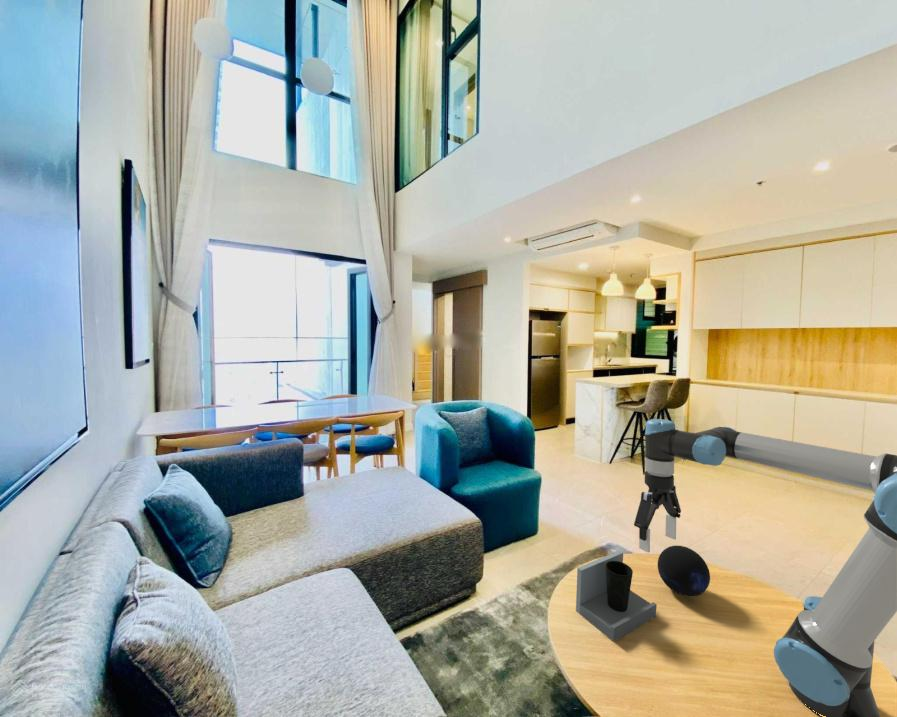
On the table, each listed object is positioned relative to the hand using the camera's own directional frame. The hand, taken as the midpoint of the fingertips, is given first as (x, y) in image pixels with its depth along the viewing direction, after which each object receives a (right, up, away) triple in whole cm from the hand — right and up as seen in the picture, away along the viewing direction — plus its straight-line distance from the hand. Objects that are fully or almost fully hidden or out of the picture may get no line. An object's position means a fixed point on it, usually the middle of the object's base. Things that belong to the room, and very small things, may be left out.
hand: (657, 543), depth 111 cm
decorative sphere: (+17, -25, +16) cm, 34 cm away
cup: (-10, -22, +5) cm, 24 cm away
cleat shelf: (-10, -25, +6) cm, 27 cm away
